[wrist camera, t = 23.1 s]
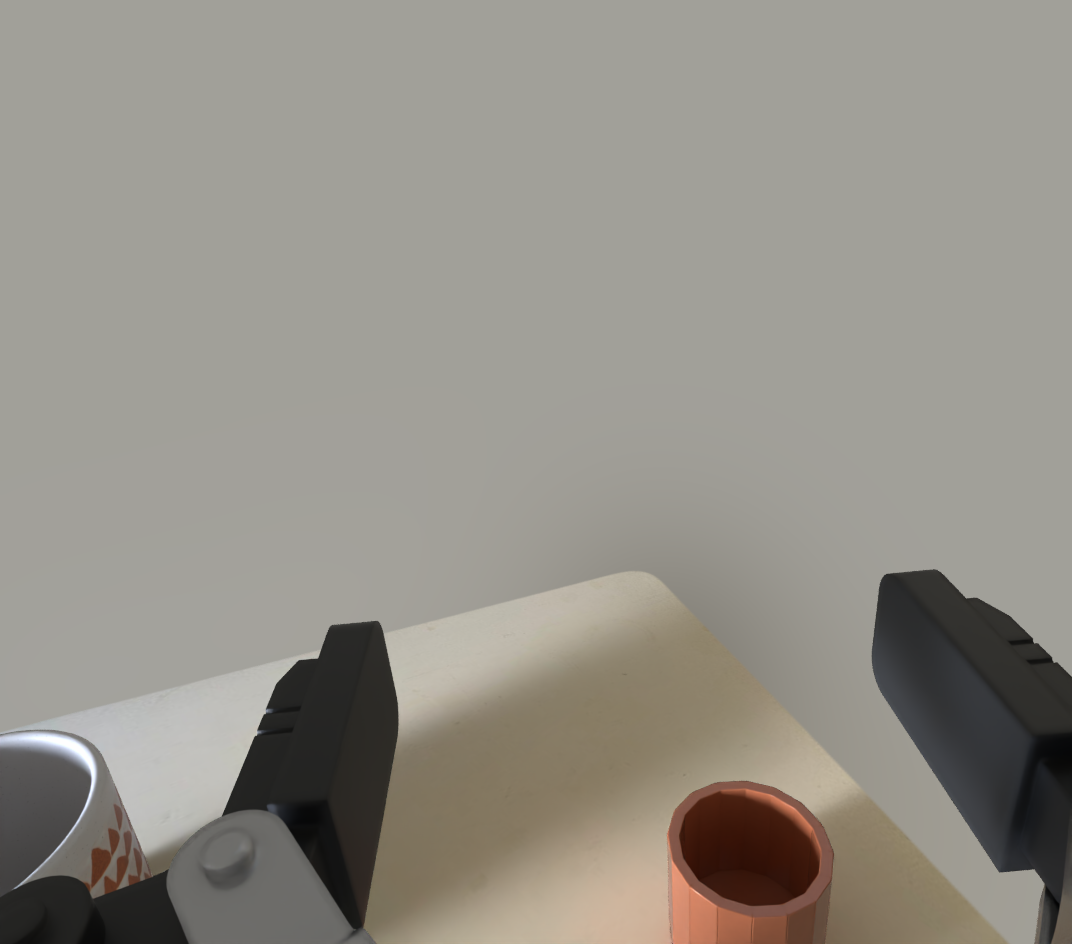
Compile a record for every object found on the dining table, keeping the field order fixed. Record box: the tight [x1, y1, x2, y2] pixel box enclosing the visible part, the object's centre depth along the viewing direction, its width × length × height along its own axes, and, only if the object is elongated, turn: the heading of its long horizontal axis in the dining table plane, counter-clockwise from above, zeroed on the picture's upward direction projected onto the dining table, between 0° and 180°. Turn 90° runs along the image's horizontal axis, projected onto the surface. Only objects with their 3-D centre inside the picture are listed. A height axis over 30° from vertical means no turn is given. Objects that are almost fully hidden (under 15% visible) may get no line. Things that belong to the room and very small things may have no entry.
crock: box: [667, 781, 834, 944], centre depth 39 cm, size 8×8×7 cm
